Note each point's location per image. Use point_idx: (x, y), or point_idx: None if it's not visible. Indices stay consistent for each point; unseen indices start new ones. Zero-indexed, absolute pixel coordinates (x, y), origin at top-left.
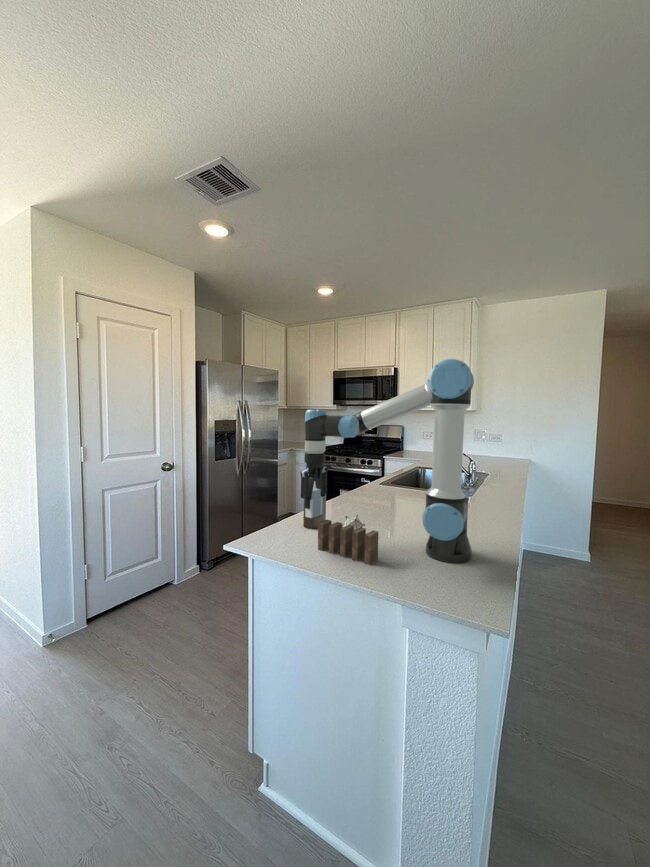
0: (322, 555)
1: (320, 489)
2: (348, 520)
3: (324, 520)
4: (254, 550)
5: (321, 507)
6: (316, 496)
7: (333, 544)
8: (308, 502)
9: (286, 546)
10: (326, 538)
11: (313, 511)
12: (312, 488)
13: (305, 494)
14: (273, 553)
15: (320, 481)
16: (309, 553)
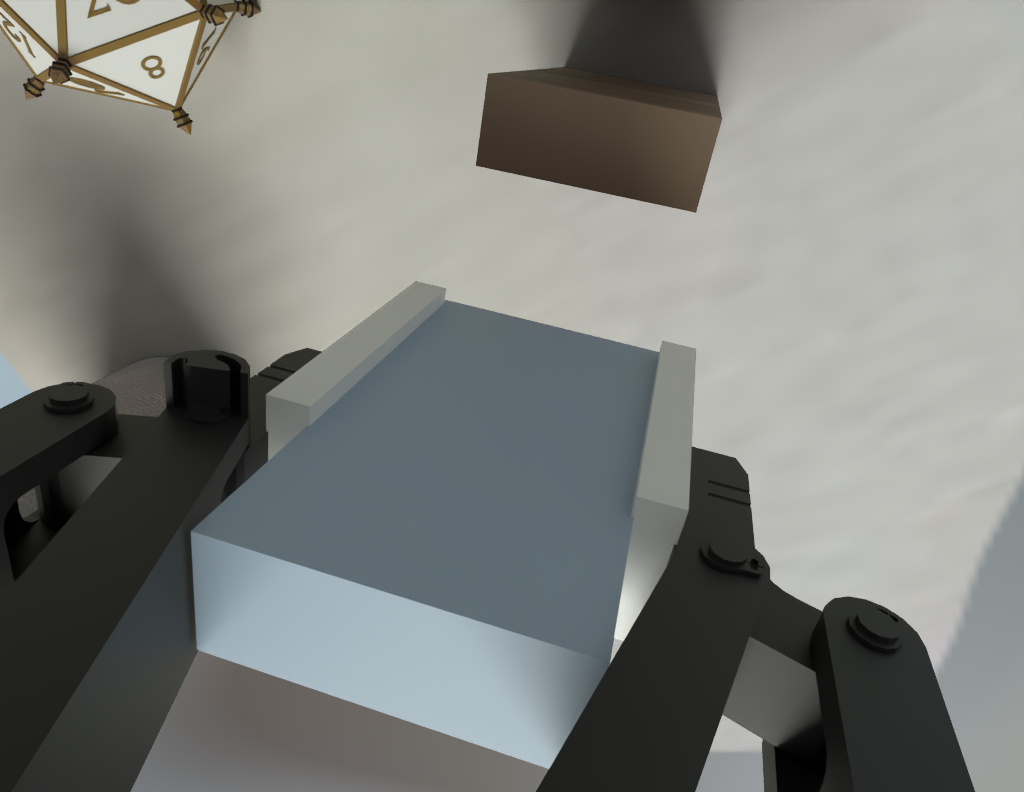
0: (846, 28)
1: (210, 532)
2: (101, 15)
3: (122, 379)
4: (931, 640)
5: (397, 322)
6: (448, 489)
7: None
8: (731, 528)
9: (743, 456)
10: (634, 87)
11: (604, 377)
12: (595, 734)
13: (948, 733)
14: (951, 487)
15: (15, 740)
16: (837, 188)
